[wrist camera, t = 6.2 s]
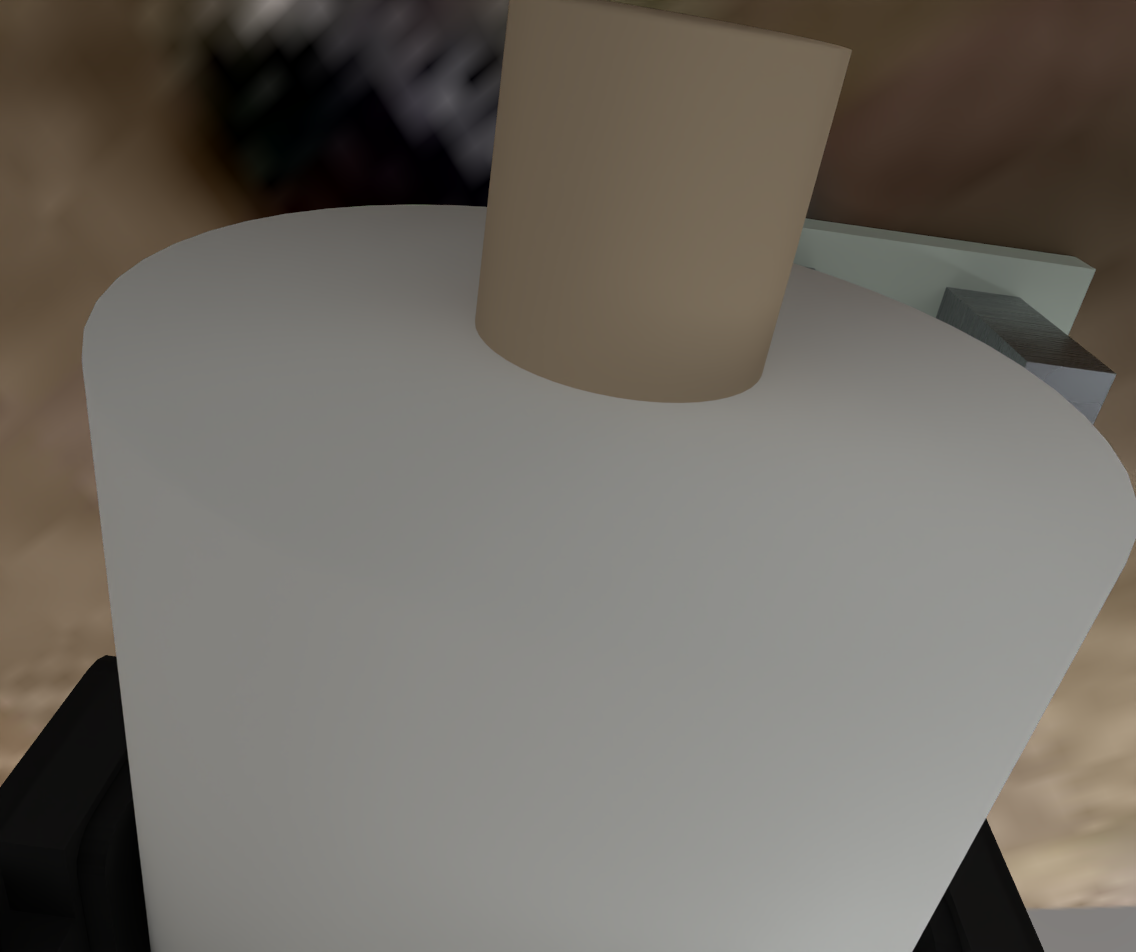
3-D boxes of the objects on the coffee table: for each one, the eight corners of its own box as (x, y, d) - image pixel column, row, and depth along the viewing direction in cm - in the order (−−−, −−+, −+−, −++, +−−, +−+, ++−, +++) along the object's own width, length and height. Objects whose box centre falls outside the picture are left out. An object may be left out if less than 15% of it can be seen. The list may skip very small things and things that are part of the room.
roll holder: (1075, 256, 25) (1213, 341, 19) (873, 752, 34) (926, 907, 29) (681, 200, 25) (704, 270, 19) (583, 717, 34) (579, 867, 28)
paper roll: (1021, 63, 8) (1909, 280, 3) (676, 1013, 16) (702, 1626, 10) (299, -63, 8) (-500, -138, 2) (292, 955, 15) (90, 1539, 10)
